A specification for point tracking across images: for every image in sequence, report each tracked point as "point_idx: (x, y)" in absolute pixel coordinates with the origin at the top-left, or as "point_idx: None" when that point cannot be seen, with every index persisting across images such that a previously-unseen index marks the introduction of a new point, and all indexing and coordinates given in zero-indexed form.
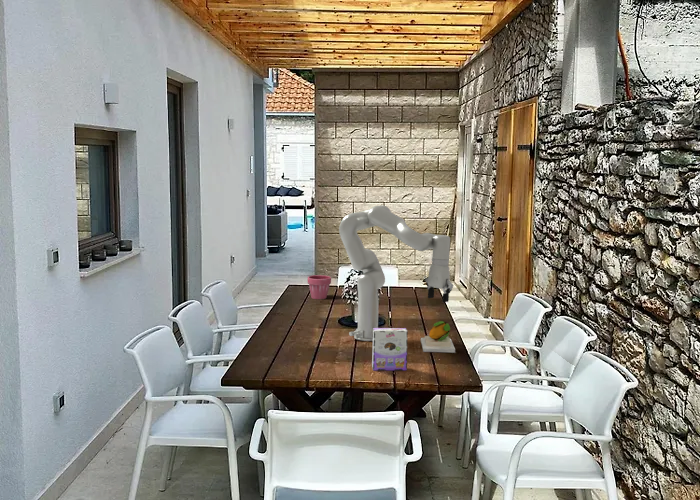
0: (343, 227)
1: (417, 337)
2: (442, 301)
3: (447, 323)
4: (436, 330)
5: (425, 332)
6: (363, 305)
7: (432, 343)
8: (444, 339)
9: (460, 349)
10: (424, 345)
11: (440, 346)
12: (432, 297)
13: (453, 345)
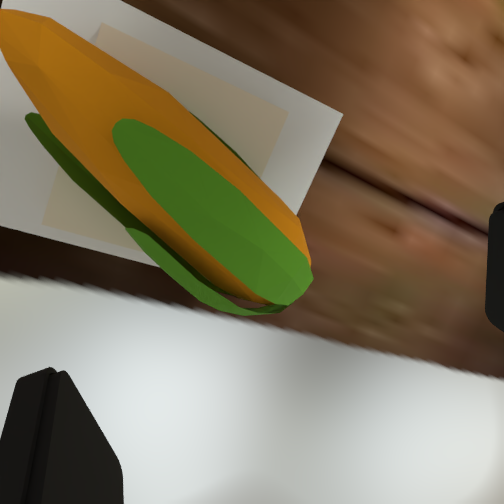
0: None
1: (408, 131)
2: (43, 369)
3: (234, 305)
4: (67, 120)
5: (472, 227)
6: None
7: None
8: None
9: (54, 274)
10: (117, 16)
11: None
12: (488, 292)
13: (79, 245)
